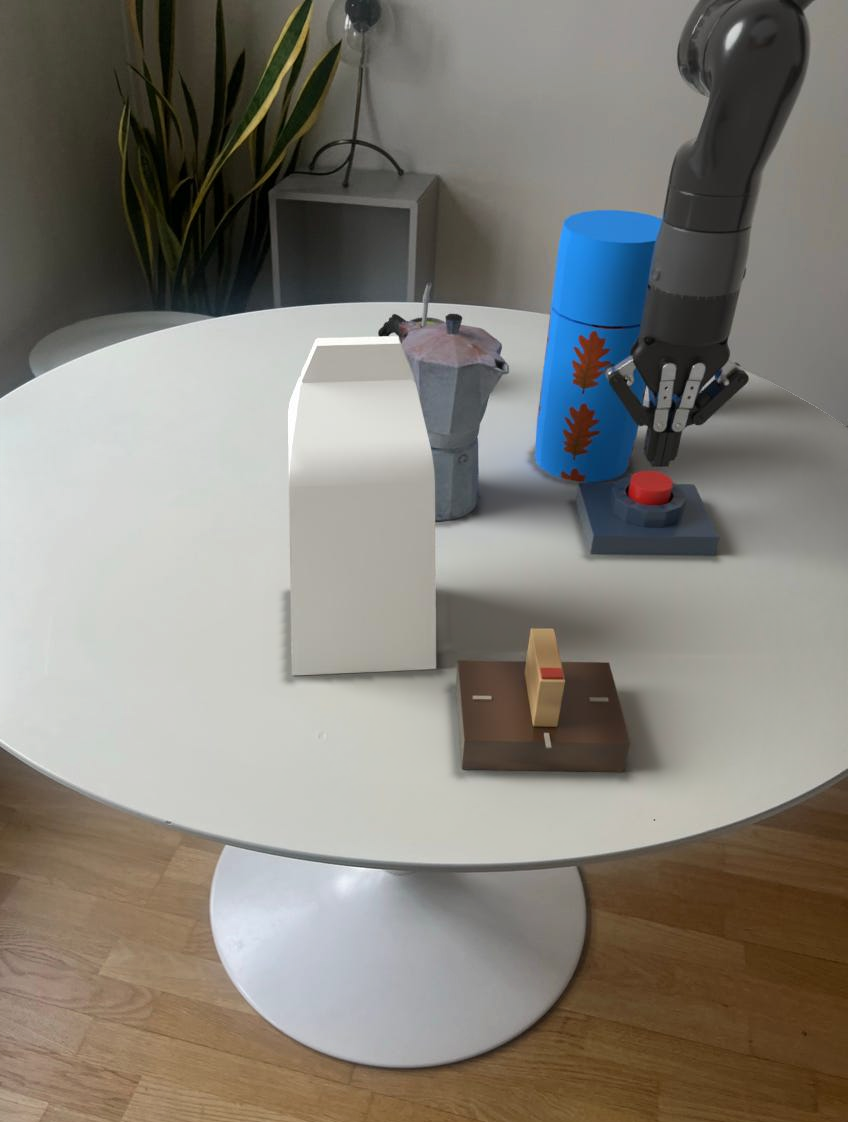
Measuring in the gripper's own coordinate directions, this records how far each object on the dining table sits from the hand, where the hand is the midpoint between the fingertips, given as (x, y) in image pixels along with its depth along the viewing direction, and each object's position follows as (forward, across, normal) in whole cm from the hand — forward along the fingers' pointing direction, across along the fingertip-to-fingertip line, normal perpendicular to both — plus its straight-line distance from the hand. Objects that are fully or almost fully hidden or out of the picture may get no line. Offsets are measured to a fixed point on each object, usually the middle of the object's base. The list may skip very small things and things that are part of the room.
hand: (657, 462), depth 91 cm
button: (+4, 0, -1) cm, 4 cm away
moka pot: (+8, +21, -6) cm, 23 cm away
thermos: (+8, +4, -15) cm, 17 cm away
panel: (+8, +15, +28) cm, 32 cm away
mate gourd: (+7, +20, -33) cm, 40 cm away
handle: (+5, +15, +28) cm, 32 cm away
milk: (+8, +28, +15) cm, 33 cm away
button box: (+8, 0, -1) cm, 8 cm away
